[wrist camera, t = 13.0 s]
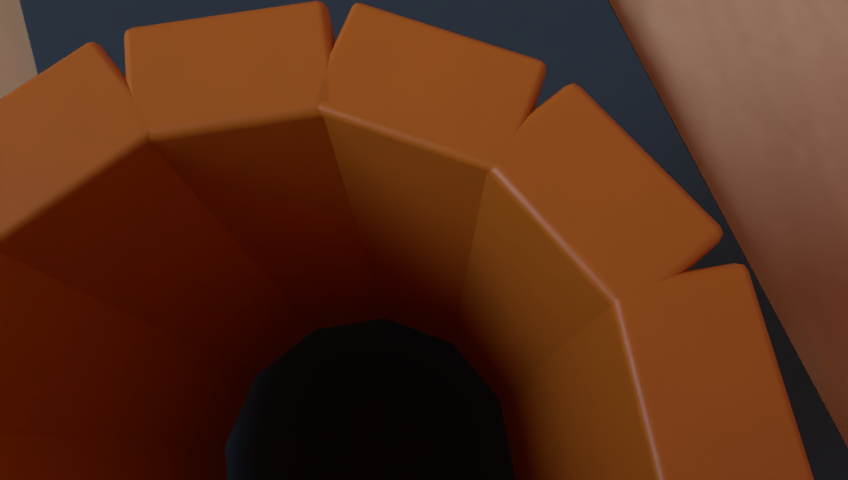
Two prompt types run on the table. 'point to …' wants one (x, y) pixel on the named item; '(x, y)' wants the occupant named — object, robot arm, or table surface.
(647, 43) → the table surface
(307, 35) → the orange slatted cup
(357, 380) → the mat
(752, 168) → the table surface
